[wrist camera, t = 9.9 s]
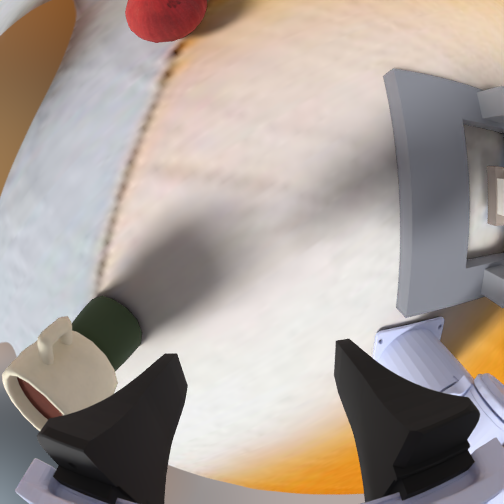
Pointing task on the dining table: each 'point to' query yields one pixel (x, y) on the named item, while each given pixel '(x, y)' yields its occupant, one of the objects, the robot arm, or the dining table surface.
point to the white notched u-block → (495, 195)
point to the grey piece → (439, 190)
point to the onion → (164, 18)
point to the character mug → (73, 362)
